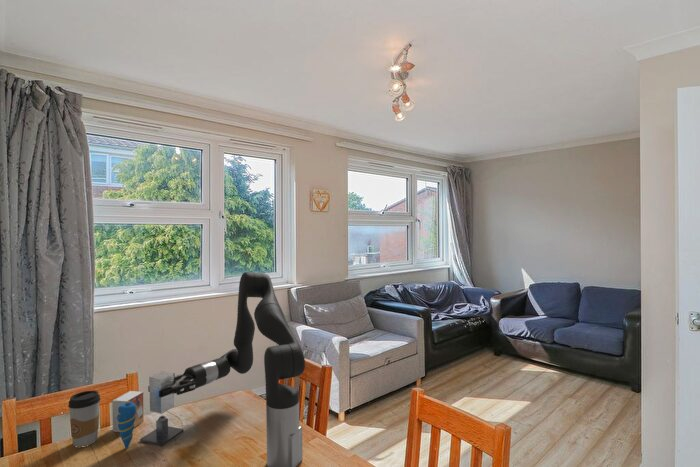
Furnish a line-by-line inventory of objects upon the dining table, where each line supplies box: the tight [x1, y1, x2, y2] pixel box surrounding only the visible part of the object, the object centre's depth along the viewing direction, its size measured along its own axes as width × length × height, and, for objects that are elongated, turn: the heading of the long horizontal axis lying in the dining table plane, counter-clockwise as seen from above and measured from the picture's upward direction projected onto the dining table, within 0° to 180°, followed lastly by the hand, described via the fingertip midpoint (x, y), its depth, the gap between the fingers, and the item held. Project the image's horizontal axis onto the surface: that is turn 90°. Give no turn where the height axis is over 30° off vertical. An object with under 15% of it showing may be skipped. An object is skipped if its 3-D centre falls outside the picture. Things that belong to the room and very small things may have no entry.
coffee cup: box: [67, 390, 101, 447], centre depth 121 cm, size 8×8×15 cm
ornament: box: [117, 399, 136, 449], centre depth 118 cm, size 5×5×15 cm
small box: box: [111, 390, 145, 433], centre depth 131 cm, size 8×6×10 cm
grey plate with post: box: [139, 415, 185, 447], centre depth 125 cm, size 9×9×7 cm
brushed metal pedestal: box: [148, 371, 175, 415], centre depth 125 cm, size 5×5×11 cm
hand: (154, 391), depth 123 cm, fingers closed on brushed metal pedestal, 5 cm apart
